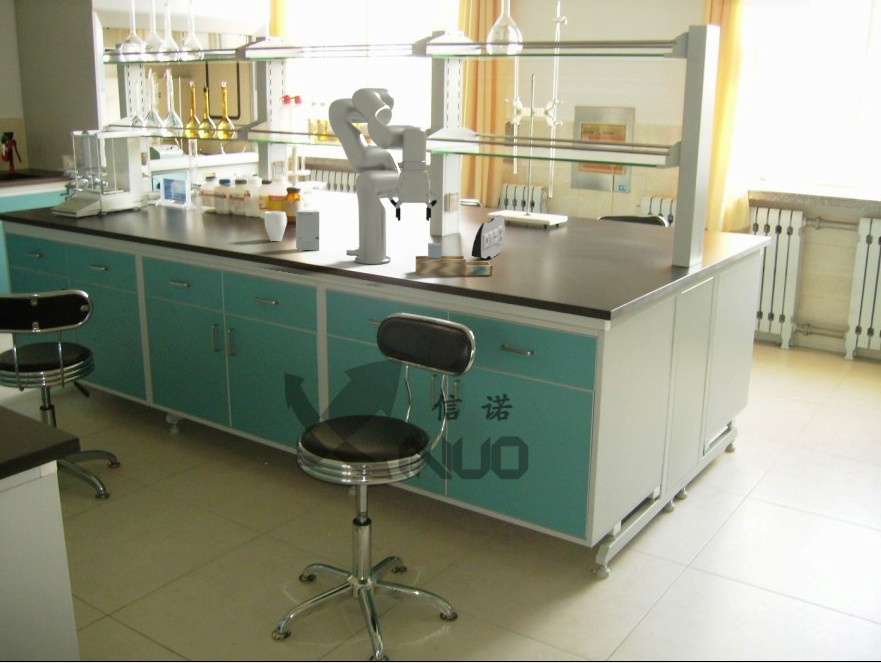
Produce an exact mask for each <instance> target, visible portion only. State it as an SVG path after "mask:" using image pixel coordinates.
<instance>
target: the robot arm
mask: <svg viewBox="0 0 881 663" xmlns="http://www.w3.org/2000/svg"><path fill="white" fill-rule="evenodd" d="M394 105H395V102H394V96H393V94H392V93H391V91H389V90H388V88H380V87H379V88H377V87H375V88H374V87H364V88H363V87H362V88H360V89H357V90H355V92H354V93H353V94H352V96H351V97H350V98H349V97H347V98H339V99H338V98H337V99H335V100H334V101H332V102H331V103H330V104H329V108H328V121H329V125H330V127H331V130H332V132H333V133H334V135H335V137H336V138H337V140H338V141H339V143H340V145H341V146H342V149H343V151H344V153H345V155H346V159H347V161H348V163H349V165H350V167H351V169H352V171H354V172H355V173H357V174H358V175H357V176H356V179H355V182H354V184H355V191H356V196H357V204H358V248H355V249H346V253H345V254H346V256H350V257H354V262H356V263H358V264H362V265H363V264H364V265H383V264H387V262H388V263H390V262H391V257H390V256H388V255H387V212H386V209H385V206H384V205H383V203H382V201H381V199H388V200H389V202H390V203H391V205H392V206H393V207H394V208H395V218H396V219H397V221H398V222H400V221H401V216H402V215H401V214H402V213H401V210H402V208H401V205H402V204H403V203H405V204H424V203H425V205H426V208H425V209H426V210H425V220H426V221H427V222H429V221H430V219H431V218H432V209H433V208H434V206H435V205H436V204H437V203H438V201H439V199H440V197H441V194H439V193H438V192H435V190H433V189H431V188H430V175H429V171H428V170H426V169H427V167H426V166H427V164H426V163H427V162H426V161H427V130H426V129H425V128H424V127H421V126H419V127H418V126H416V127H415V126H414V125H410V124H409V125H405V124H404V125H400V124H398V125H397V124H396V125H395V124H392V125H388V124H389V123H390V122H391V120H392V118H393V112H392V110H393V109H394ZM353 124H367V133H368V136H369V138H370V139H371V141H372V142H373V143H374V144H375V145H370V144H368V142H367V140H366V138H365V135H364V134H363V132H361V130H360V129H359V128H357V127H356V126H354V125H353ZM392 150H402V151H401V152H402V161H401V162H397V160H396V158H395V155H394V153H393V152H392ZM400 168H401V169H400ZM431 195H432V197H433V196H434V198H433V200H431V199H430V198H431V197H430V196H431ZM394 198H397V199H398V200H397V201H395V199H394ZM430 200H431V202H430ZM382 263H383V264H382Z"/></svg>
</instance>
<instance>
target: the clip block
mask: <svg viewBox="0 0 881 663" xmlns="http://www.w3.org/2000/svg"><path fill="white" fill-rule="evenodd" d="M427 256H428V259H441V256H442V245H441V242H439V243H438V242H428V243H427Z"/></svg>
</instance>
